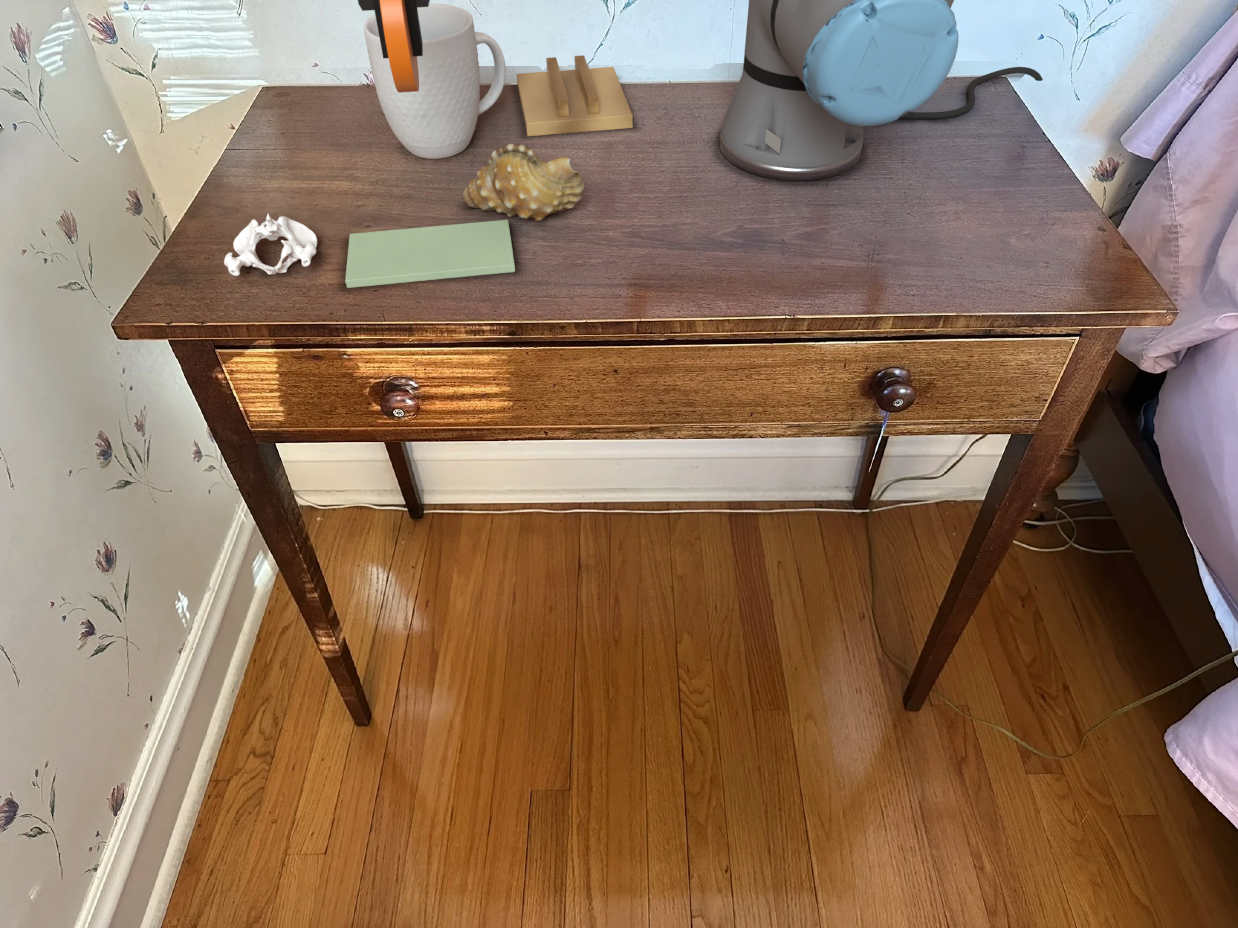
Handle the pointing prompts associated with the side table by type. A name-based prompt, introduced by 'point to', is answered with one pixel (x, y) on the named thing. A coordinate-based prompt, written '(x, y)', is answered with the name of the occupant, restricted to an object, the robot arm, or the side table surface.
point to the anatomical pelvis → (296, 247)
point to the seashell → (524, 184)
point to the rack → (572, 99)
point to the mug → (437, 83)
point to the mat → (429, 253)
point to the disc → (399, 46)
